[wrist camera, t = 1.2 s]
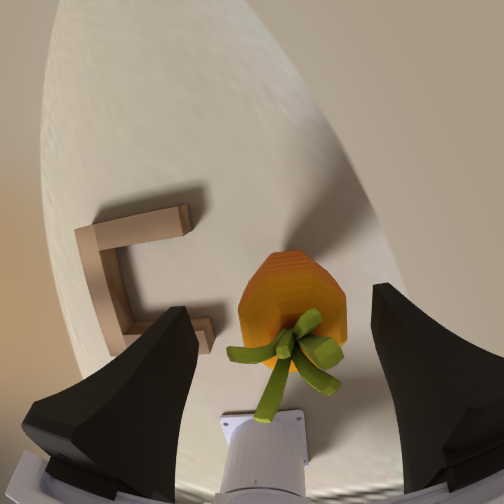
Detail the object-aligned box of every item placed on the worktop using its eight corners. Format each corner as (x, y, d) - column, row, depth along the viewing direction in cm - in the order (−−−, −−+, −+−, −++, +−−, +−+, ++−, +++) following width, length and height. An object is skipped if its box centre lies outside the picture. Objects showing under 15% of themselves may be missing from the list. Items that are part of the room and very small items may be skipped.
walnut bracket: (215, 338, 24) (209, 353, 22) (122, 343, 25) (110, 356, 23) (187, 204, 22) (177, 206, 20) (90, 224, 23) (74, 229, 21)
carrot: (273, 306, 23) (268, 463, 9) (240, 251, 23) (181, 365, 8) (330, 275, 22) (403, 408, 8) (299, 217, 22) (347, 283, 7)
